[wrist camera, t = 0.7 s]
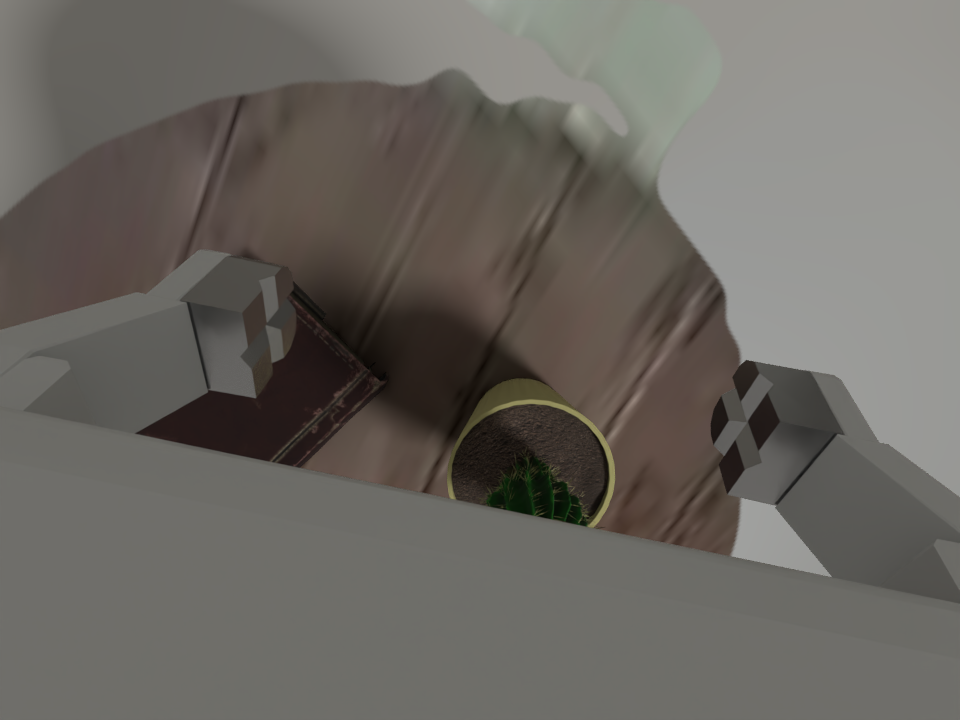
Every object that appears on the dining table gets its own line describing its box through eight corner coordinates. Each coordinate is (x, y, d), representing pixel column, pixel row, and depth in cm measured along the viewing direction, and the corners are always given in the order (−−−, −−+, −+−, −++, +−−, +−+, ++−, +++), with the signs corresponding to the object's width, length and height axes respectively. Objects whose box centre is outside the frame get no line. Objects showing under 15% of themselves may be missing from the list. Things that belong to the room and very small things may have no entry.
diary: (393, 376, 63) (385, 388, 59) (255, 507, 68) (237, 529, 63) (273, 260, 60) (255, 263, 55) (136, 406, 64) (108, 420, 60)
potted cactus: (596, 470, 65) (684, 665, 36) (471, 493, 66) (458, 702, 37) (574, 348, 61) (651, 454, 32) (443, 375, 62) (403, 502, 33)
